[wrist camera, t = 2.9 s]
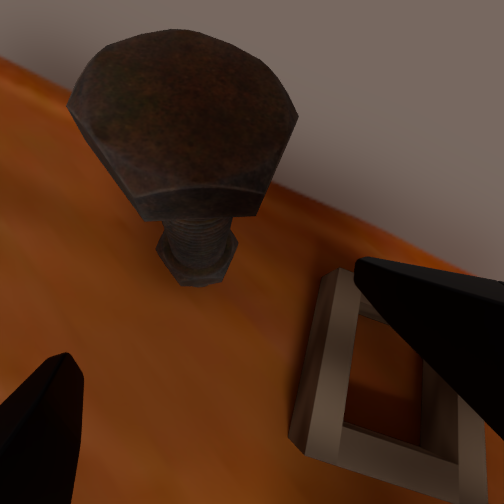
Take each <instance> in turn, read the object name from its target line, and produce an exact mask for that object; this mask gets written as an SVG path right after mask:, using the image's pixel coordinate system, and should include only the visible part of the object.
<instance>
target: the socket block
mask: <svg viewBox="0 0 504 504" xmlns="http://www.w3.org/2000/svg"><path fill="white" fill-rule="evenodd" d="M353 277H354V273H353V272H351V271H348V270H345V269H343V268H340V267H339V268H337V269H336V270H334V271H332V272H330V273H328V274H327V275H325V276H323V277H322V279H321V284H320V288H319V293H318V298H317V303H316V307H315V312H314V317H313V321H312V326H311V331H310V336H309V340H308V345H307V350H306V354H305V359H304V364H303V369H302V373H301V378H300V383H299V387H298V392H297V397H296V402H295V406H294V411H293V416H292V420H291V425H290V430H289V435H288V438H289V439H290V440H291V441H292V442H293V443H294V444H295V446H296V447H297V448H298V449H299V450H300V451H301V452H302V453H303V454H304V455H305V456H308V457H311V458H314V459H317V460H320V461H323V462H326V463H329V464H332V465H336V466H339V467H342V468H345V469H348V470H351V471H354V472H357V473H360V474H363V475H367V476H370V477H373V478H376V479H379V480H382V481H385V482H388V483H391V484H394V485H397V486H401V487H404V488H407V489H410V490H413V491H416V492H419V493H422V494H425V495H428V496H431V497H435V498H438V499H441V500H444V501H447V502H450V503H453V504H488V492H487V471H486V450H485V429H484V420H483V419H482V418H481V417H480V416H479V415H478V414H477V413H476V412H475V411H474V410H473V409H472V408H471V407H470V406H469V405H468V404H467V403H466V402H465V401H464V400H463V399H462V398H461V397H460V396H459V395H458V394H457V393H456V392H455V391H454V390H453V389H452V388H451V387H450V386H449V385H448V384H447V383H446V382H445V381H444V380H443V379H442V378H441V377H440V376H439V375H438V374H437V373H436V372H435V371H434V370H433V369H432V368H431V367H430V366H429V365H428V364H427V363H426V362H425V361H424V360H423V381H422V408H421V435H420V447H419V446H416V445H413V444H410V443H407V442H404V441H401V440H398V439H395V438H392V437H389V436H386V435H383V434H380V433H377V432H374V431H371V430H368V429H365V428H362V427H359V426H356V425H353V424H350V423H347V422H344V421H343V417H344V410H345V403H346V396H347V389H348V382H349V375H350V368H351V361H352V354H353V347H354V340H355V333H356V326H357V319H358V314H360V315H363V316H365V317H368V318H371V319H374V320H376V321H379V322H382V323H384V324H387V325H389V324H388V323H387V322H386V321H385V320H384V319H383V318H382V317H381V316H380V314H379V313H378V312H377V311H376V310H375V308H374V307H373V306H372V305H371V304H370V302H369V301H368V300H367V299H366V298H365V296H364V295H363V294H362V293H361V291H360V290H359V289H358V288H357V287H356V285H355V283H354V280H353Z"/></svg>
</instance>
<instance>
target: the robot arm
mask: <svg viewBox="0 0 504 504" xmlns="http://www.w3.org/2000/svg"><path fill="white" fill-rule="evenodd" d="M353 280H354V283H355V285H356V287H357V288H358V289H359V290H360V291H361V293H362V294H363V295H364V296H365V298H366V299H367V300H368V301H369V302H370V304H371V305H372V306H373V307H374V308H375V310H376V311H377V312H378V313H379V314H380V316H381V317H382V318H383V319H384V320H385V321H386V322H387V323H388V324H389V325H390V326H391V327H392V328H393V329H394V330H395V331H396V332H397V333H398V334H399V335H400V336H401V337H402V338H403V339H404V340H405V341H406V342H407V343H408V344H409V345H410V346H411V347H412V349H413V350H414V351H415V352H416V353H417V354H418V355H419V356H420V357H421V358H422V359H423V360H424V361H425V362H426V363H427V364H428V365H429V366H430V367H431V368H432V369H433V370H434V371H435V372H436V373H437V374H438V375H439V376H440V377H441V378H442V379H443V380H444V381H445V382H446V383H447V384H448V385H449V386H450V387H451V388H452V389H453V390H454V391H455V392H456V393H457V394H458V395H459V396H460V397H461V398H462V399H463V400H464V401H465V402H466V403H467V404H468V405H469V406H470V407H471V408H472V409H473V410H474V411H475V412H476V413H477V414H478V415H479V416H480V417H481V418H482V419H483V420H484V421H485V422H486V423H487V424H488V425H489V426H490V427H491V428H492V429H493V430H494V431H495V432H496V433H497V434H498V435H499V436H500V437H501V438H502V439H503V440H504V282H502V281H498V282H497V281H496V280H491V279H486V278H481V277H475V276H470V275H464V274H459V273H454V272H448V271H443V270H438V269H432V268H427V267H422V266H416V265H411V264H405V263H400V262H395V261H389V260H384V259H379V258H373V257H363V258H360V259H358V260H357V261H356V262H355V269H354V277H353ZM83 393H84V376H83V373H82V371H81V370H80V368H79V366H78V365H77V363H76V362H75V360H74V359H73V357H72V356H71V354H69V353H66V352H65V353H61V354H58V355H55V356H52V357H49V358H48V359H46V360H45V361H44V362H43V363H42V364H41V365H40V366H39V367H38V368H37V369H36V370H35V371H34V372H33V373H32V374H31V375H30V376H29V377H28V378H27V379H26V380H25V381H24V382H23V383H22V384H21V385H20V386H19V387H18V388H17V389H16V390H15V391H14V392H13V393H12V394H11V395H10V396H9V397H8V398H7V399H6V400H5V401H4V402H3V403H2V404H1V405H0V504H71V500H72V494H73V488H74V482H75V476H76V470H77V463H78V457H79V451H80V444H81V432H82V412H83Z"/></svg>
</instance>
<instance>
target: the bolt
mask: <svg viewBox="0 0 504 504" xmlns="http://www.w3.org/2000/svg"><path fill="white" fill-rule="evenodd" d="M66 107H67V108H68V110H69V112H70V114H71V115H72V117H73V119H74V121H75V123H76V124H77V126H78V128H79V130H80V131H81V133H82V135H83V137H84V139H85V140H86V142H87V143H88V145H89V146H90V147H91V149H92V150H93V152H94V153H95V154H96V156H97V157H98V158H99V160H100V161H101V163H102V164H103V165H104V167H105V168H106V169H107V171H108V172H109V173H110V175H111V176H112V178H113V179H114V180H115V182H116V183H117V184H118V186H119V187H120V189H121V190H122V191H123V193H124V194H125V195H126V197H127V198H128V200H129V201H130V202H131V204H132V205H133V206H134V208H135V209H136V211H137V212H138V213H139V215H140V216H141V217H142V219H143V220H144V221H145V222H146V221H162V224H163V226H164V229H165V230H164V232H163V234H162V236H161V238H160V240H159V242H158V244H157V247H156V251H157V253H158V255H159V256H160V258H161V259H162V261H163V262H164V264H165V265H166V267H167V268H168V269H169V271H170V272H171V274H172V275H173V276H174V278H175V279H176V280H177V282H178V283H179V284H180V285H181V286H193V287H204V286H207V285H208V284H214V283H219V282H222V280H223V278H224V276H225V274H226V271H227V269H228V267H229V265H230V262H231V260H232V258H233V256H234V253H235V251H236V249H237V246H238V241H237V239H236V238H235V236H234V234H233V233H232V231H231V230H230V227H231V222H232V218H233V217H246V216H256V214H257V212H258V210H259V207H260V205H261V203H262V200H263V198H264V196H265V194H266V191H267V189H268V187H269V184H270V182H271V180H272V178H273V175H274V173H275V171H276V168H277V166H278V164H279V162H280V159H281V157H282V154H283V152H284V150H285V148H286V146H287V143H288V141H289V139H290V136H291V134H292V132H293V129H294V127H295V125H296V122H297V120H298V117H299V116H298V114H297V112H296V110H295V107H294V105H293V103H292V101H291V99H290V97H289V95H288V93H287V92H286V90H285V88H284V87H283V85H282V84H281V82H280V80H279V79H278V77H277V76H276V75H275V74H274V73H273V72H272V71H271V69H270V68H269V67H268V66H267V65H266V64H264V63H263V62H262V61H261V60H260V59H258V58H256V57H254V56H252V55H250V54H249V53H247V52H245V51H243V50H241V49H239V48H237V47H236V46H234V45H232V44H230V43H227V42H224V41H222V40H219V39H216V38H213V37H210V36H208V35H205V34H202V33H200V32H195V31H190V30H181V29H169V30H163V31H157V32H151V33H145V34H141V35H137V36H134V37H131V38H128V39H125V40H122V41H119V42H116V43H113V44H110V45H107V46H106V47H105V48H103V49H102V50H101V51H99V52H98V53H97V54H96V55H95V56H94V57H93V58H92V59H91V60H90V61H89V62H88V64H87V65H86V67H85V69H84V70H83V72H82V73H81V75H80V77H79V78H78V80H77V82H76V84H75V87H74V89H73V91H72V94H71V96H70V98H69V101H68V103H67V105H66Z"/></svg>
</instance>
